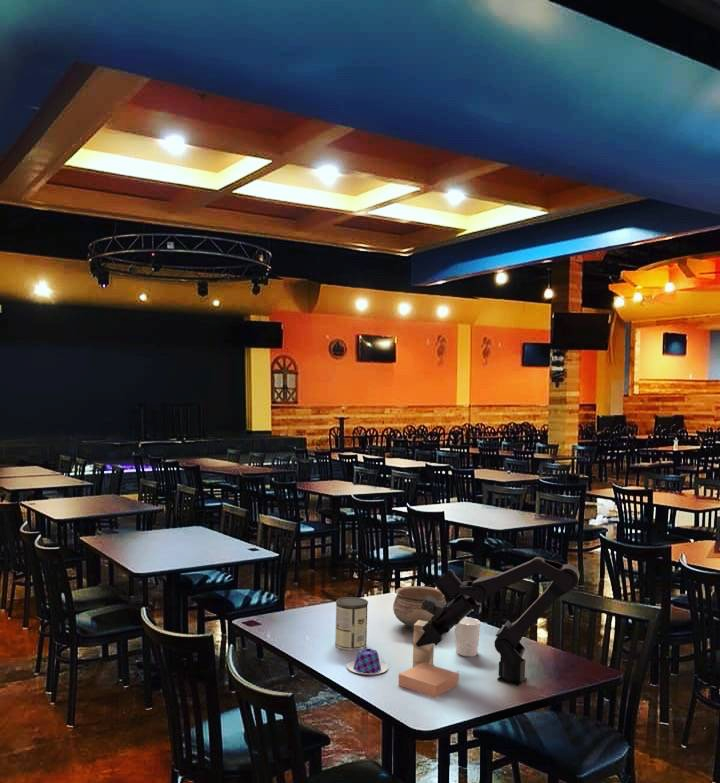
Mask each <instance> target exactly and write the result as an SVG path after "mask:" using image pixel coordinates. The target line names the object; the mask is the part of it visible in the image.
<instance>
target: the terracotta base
mask: <svg viewBox="0 0 720 783" xmlns="http://www.w3.org/2000/svg"><path fill="white" fill-rule="evenodd" d="M459 676H460V673H458V672H455V671H452V670H448V669H447V668H442V667H438V666H435V665H434V664H433V665H429V664H426V663H421V664H419V665H417V666H414V667H413V666H412V667H410V668H408V669H406V670H404V671H402V672H400V673H398V686H400V687H403V688H407V689H410V690H413V691H416V692H419V693H422V694H425V695H428V696H430V697H434V698H437V697H438V696H441V695H442V694H443V693H445V692H447V691H449V690H452V689H453V688H454V687H456V686H457V685H459V680H460V679H459Z"/></svg>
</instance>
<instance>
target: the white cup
mask: <svg viewBox="0 0 720 783" xmlns="http://www.w3.org/2000/svg"><path fill="white" fill-rule="evenodd" d="M480 628H481V621H480V620H479V619H477V618H473V617H467V616H465V617H464V618H463V619H462V620H461V621H460V622H459V623H458V624H457V625H455V626H454V630H455V631H454V636H455V637H454V638H455V640H454V641H455V653H456V654H458V655H460V656H463V657H475V656H477V655H478V652H479V651H478V650H479V649H478V647H479V641H480V631H481V630H480Z"/></svg>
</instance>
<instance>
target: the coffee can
mask: <svg viewBox="0 0 720 783" xmlns="http://www.w3.org/2000/svg"><path fill="white" fill-rule="evenodd" d="M368 604H369V601H368V600H367V599H366V598H363V597H357V596H344V597H339V598H337V599H336V600H335V634H334V635H335V636H334V637H335V638H334V639H335V640H334V641H335V642H334V646H335V647H336V648H337V649H339V650H343V651H350V652H352V651H359V650H360V649H365V648H367V638H368V637H367V636H368V634H367V632H368V631H367V630H368Z"/></svg>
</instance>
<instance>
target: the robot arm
mask: <svg viewBox="0 0 720 783" xmlns="http://www.w3.org/2000/svg"><path fill="white" fill-rule="evenodd" d="M537 574H538V575H541V576H543V577H545V578H546V579H548V580H550V581H551V582H550V584H549V585H548V587H547V588H546V589H545V590H544V591H543V592H542V593H541V595H539V596H538V598H536V600H534V602H533V603H532V604H531V605H530V606H529V607H528V608H527V609H526V610H525V611H524V613H522V614H521V616H520V617H519V618H517V619H516V621H513V622H512V623H511V621H510V620H506V622H505V624H504V625H503V627H500V628H499V629H498V630H497V632H496V635H495V637H496V638H495V640H494V648H495V650H496V652H498V653H499V655H500V661H498V677H497V678H496V679H497V681H499V682H502V683H506V684H508V685H512V686H515V687H519V686H521V685H522V684H524V683H525V682H527V680H528V678H527V677H526V659H524V658H523V655H524V654H525V650H526V647H524V645H523V644H522V643H521V642H520V641H522V638H523V637H524V635H525V633H527V631H528V630H529V629H530V628H531V627H532V626H533V625H534V624H536V622H537V621H538V620H539V619H540V618H541V617H542V616H543V614H545V612H546V611H547V610H548V609H549V608H550V607H551V606H552V605H553V604H554V603H555V602H556V601H557V599H560V598H561V597H563V596H565V595H566V594H568V593H569V592H571V590H573V589H575V588H576V587H577V585H578V584H579V580H580V577H581V576H580V571H579V569H578V568H577V567H576V566H575V565H573V564H569V563H568V564H567V563H566V564H564V563H560V562H557V561H553V560H550V559H546V558H544V557H542V556H536V557H534V558H533V559H530V560H529V561H526V562H523V563H521V564H519V565H516V566H515V567H511V568H509V569H508V570H506V571H504V572H500V573H498V574H493V575H487V576H483V577H479V578H477V579H475V580H470V581H469V580H467V581H462V580H461V579H460V578H459V577H458V576H457V575H456V572H455V571H454V570H453V568H450V569H449V570H447V572H445V573H443V574H442V575H441V576H440V577H439V578H437V579H436V580H435V581H433V585H434V586H435V587H436V589H439V590H440V592H441V593H442V594H443V595H444V598H445V599H446V598H447V599H452V600H451V601H450V602H449V603H448V602H446V605H444V604H442V603H441V602H440V601H438V600H436V599H435V598H433V597H432V596H429V595H428V596H427V597H426V598H425V600H424V602H423V603H422V606H421V608H422V609H423V610H426V611H428V612H429V613H431V614H433V617H432V618H431V621H430V620H429V621H428V622H427V623H426V624H425V625H424V626H423V627H422V629H423V631H424V633H423V635H422V636H421V637H420V639H419V640H418V641H417V643H416V645H417V647H420V646H424V645H428V644H432V643H434V646H435V645H436V646H437V645H439V644H440V643H441V642H442V641H443V640H444V638H445V634H447V633H449V632H450V630H451V629H452V628H453V627H454V628H455V625H457V624H458V623H459V622H460V621H461V620H462V619H463V618H464V617H467V616H468V615H469V614H470V613H471V612H473V611H474V613H476V614H477V615H480V614H481V612H482V602H485V601H486V600H487V599H489V598H492V597H493V596H494V595H496V594H497V593H498V592H500V591H501V590H502V589H504V588H506V587H509V586H511V585H514V584H516V583H518V582H520V581H523V580H526V579H527V578H530V577H532V576H535V575H537ZM457 594H458V595H457ZM456 595H457V596H456ZM455 596H456V597H455ZM454 597H455V598H454ZM453 598H454V599H453Z"/></svg>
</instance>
